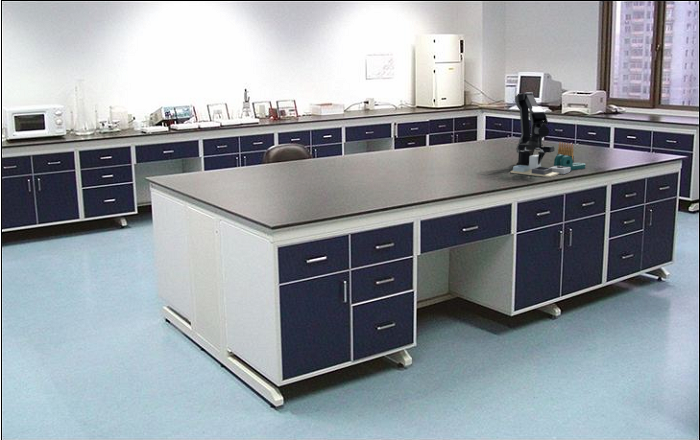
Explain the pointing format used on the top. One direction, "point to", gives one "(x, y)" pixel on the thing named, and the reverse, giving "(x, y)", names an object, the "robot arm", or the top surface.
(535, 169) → the frame
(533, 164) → the plug
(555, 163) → the bracket
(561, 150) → the ammunition clip
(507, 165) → the top surface
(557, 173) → the board
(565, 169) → the grey knob block
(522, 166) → the header 3pin
